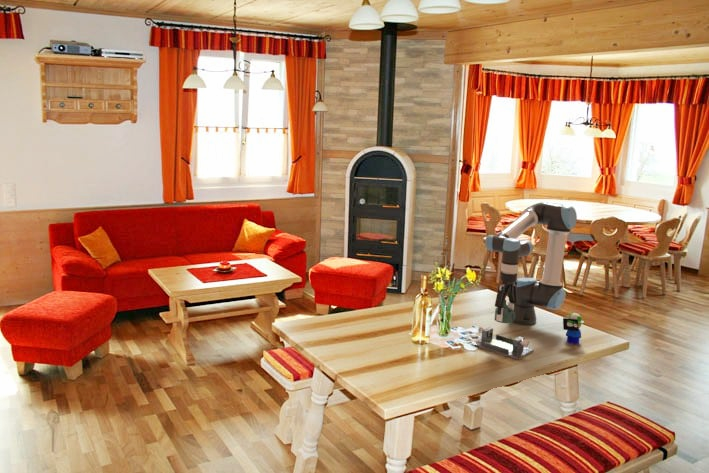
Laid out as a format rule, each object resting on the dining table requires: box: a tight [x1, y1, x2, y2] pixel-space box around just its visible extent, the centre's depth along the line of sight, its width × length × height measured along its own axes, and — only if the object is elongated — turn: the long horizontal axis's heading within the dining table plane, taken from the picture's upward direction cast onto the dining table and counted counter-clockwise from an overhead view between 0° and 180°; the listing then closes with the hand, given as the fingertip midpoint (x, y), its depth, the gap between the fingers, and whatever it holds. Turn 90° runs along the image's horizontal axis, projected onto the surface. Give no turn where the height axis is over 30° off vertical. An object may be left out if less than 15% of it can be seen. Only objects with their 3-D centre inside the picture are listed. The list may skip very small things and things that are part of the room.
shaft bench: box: [473, 326, 535, 361], centre depth 293 cm, size 15×25×7 cm, turn 47°
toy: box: [562, 312, 585, 345], centre depth 303 cm, size 9×9×15 cm
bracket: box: [494, 298, 515, 324], centre depth 290 cm, size 9×9×9 cm
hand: (504, 318), depth 290 cm, fingers closed on bracket, 9 cm apart
